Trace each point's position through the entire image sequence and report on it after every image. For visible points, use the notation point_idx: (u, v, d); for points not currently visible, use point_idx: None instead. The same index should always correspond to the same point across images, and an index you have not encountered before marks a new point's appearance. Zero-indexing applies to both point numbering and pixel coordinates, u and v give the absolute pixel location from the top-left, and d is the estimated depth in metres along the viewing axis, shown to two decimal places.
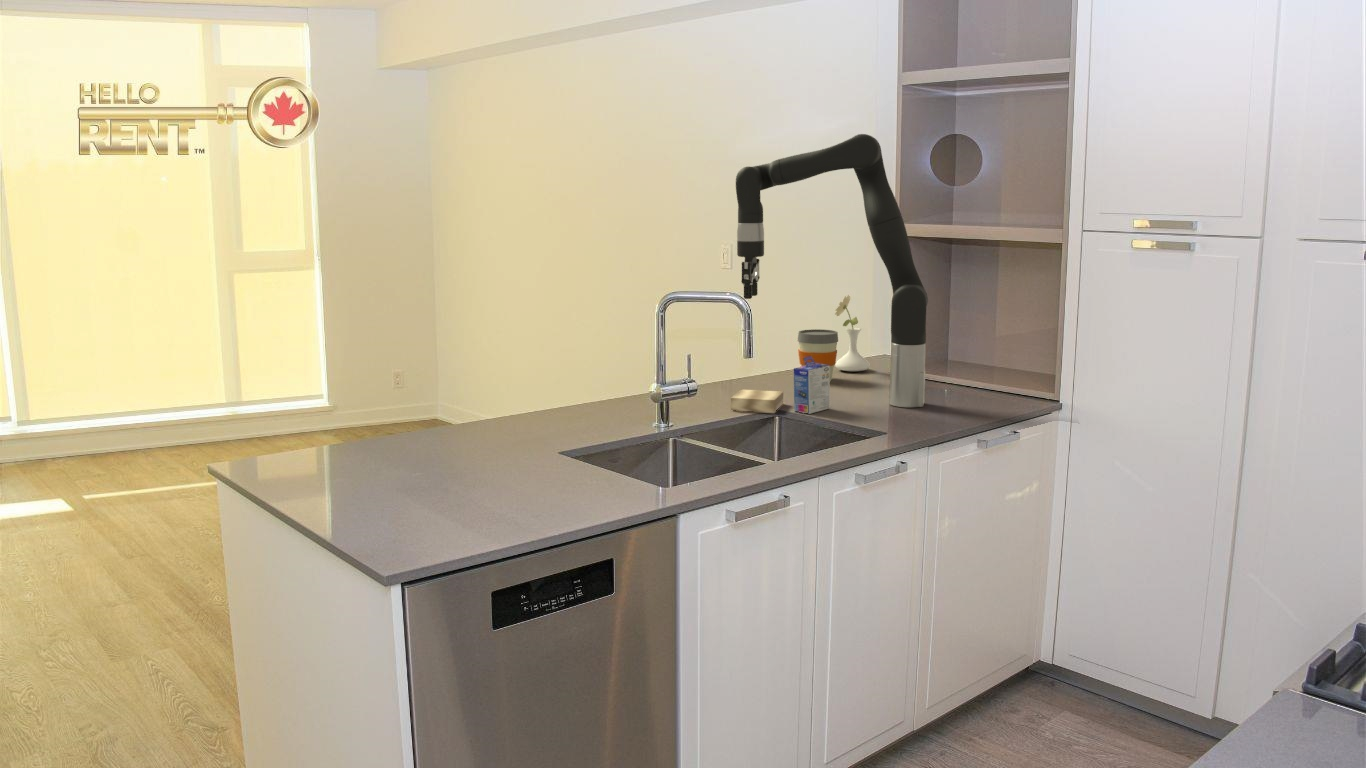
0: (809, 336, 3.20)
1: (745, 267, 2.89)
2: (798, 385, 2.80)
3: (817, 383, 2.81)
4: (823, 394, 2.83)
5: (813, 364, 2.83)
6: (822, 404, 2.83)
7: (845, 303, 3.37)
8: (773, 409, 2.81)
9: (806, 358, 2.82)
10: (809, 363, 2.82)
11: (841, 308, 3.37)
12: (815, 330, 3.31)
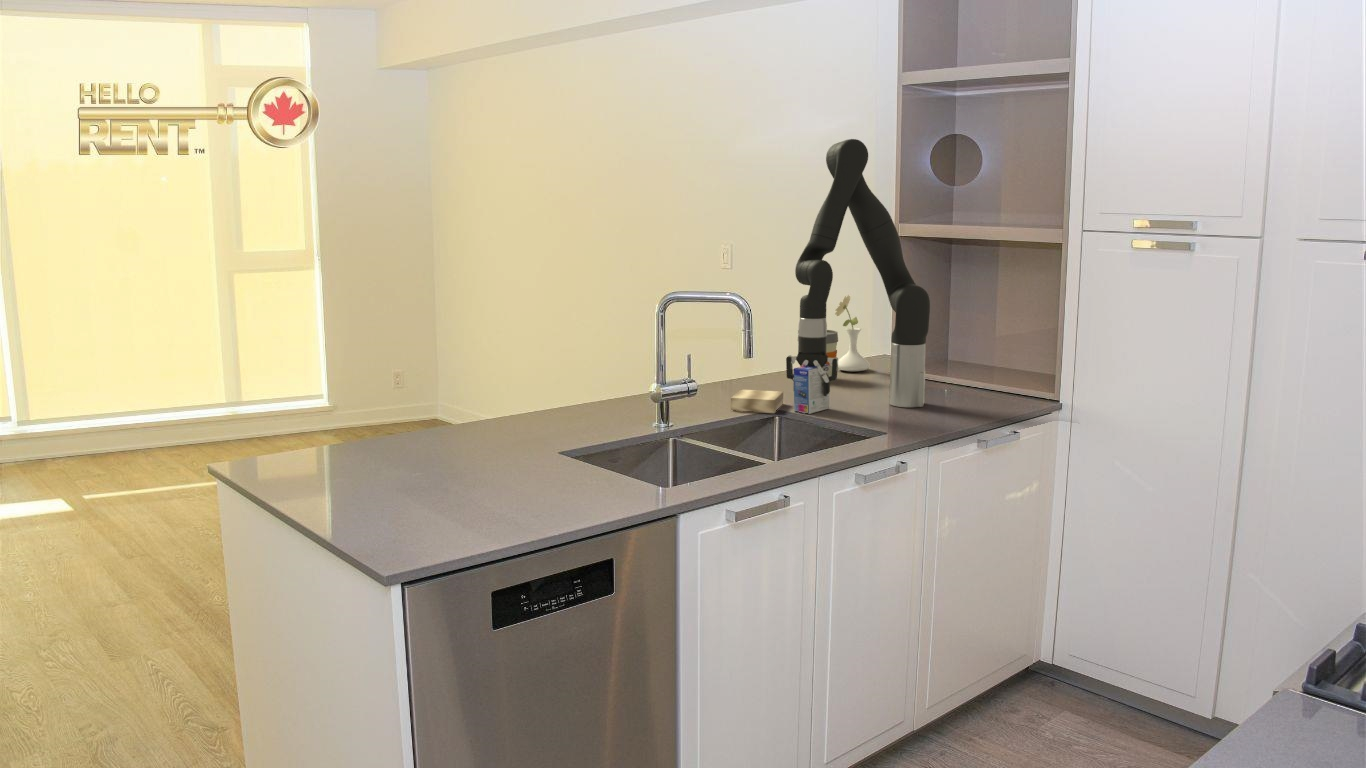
0: None
1: (837, 363, 2.80)
2: (798, 385, 2.80)
3: (817, 383, 2.81)
4: (823, 394, 2.83)
5: None
6: (822, 404, 2.83)
7: (845, 303, 3.37)
8: (773, 409, 2.81)
9: None
10: None
11: (841, 308, 3.37)
12: None
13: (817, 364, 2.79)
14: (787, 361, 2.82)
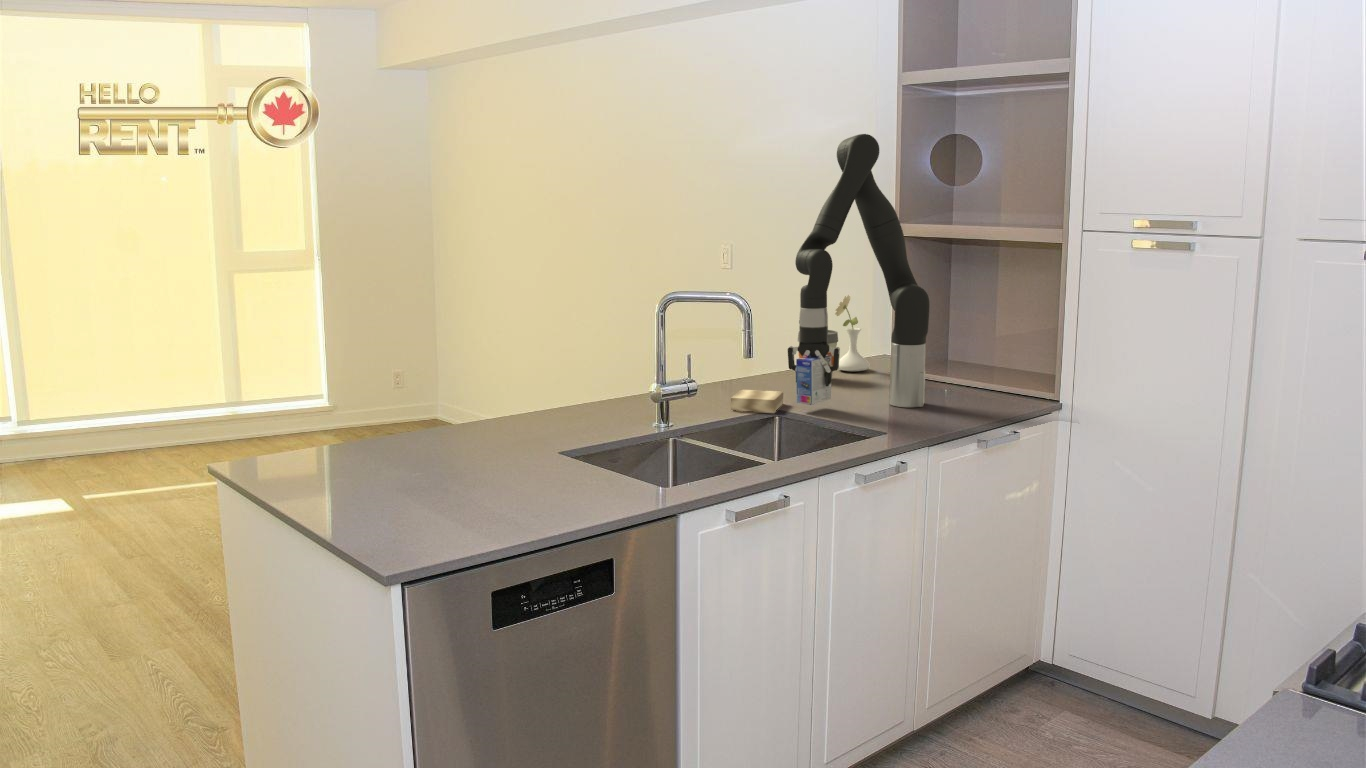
0: None
1: (838, 353, 2.79)
2: (801, 376, 2.79)
3: (820, 374, 2.80)
4: (825, 385, 2.82)
5: None
6: (824, 394, 2.82)
7: (845, 303, 3.37)
8: (773, 409, 2.81)
9: None
10: None
11: (841, 308, 3.37)
12: None
13: (819, 354, 2.79)
14: (789, 352, 2.81)
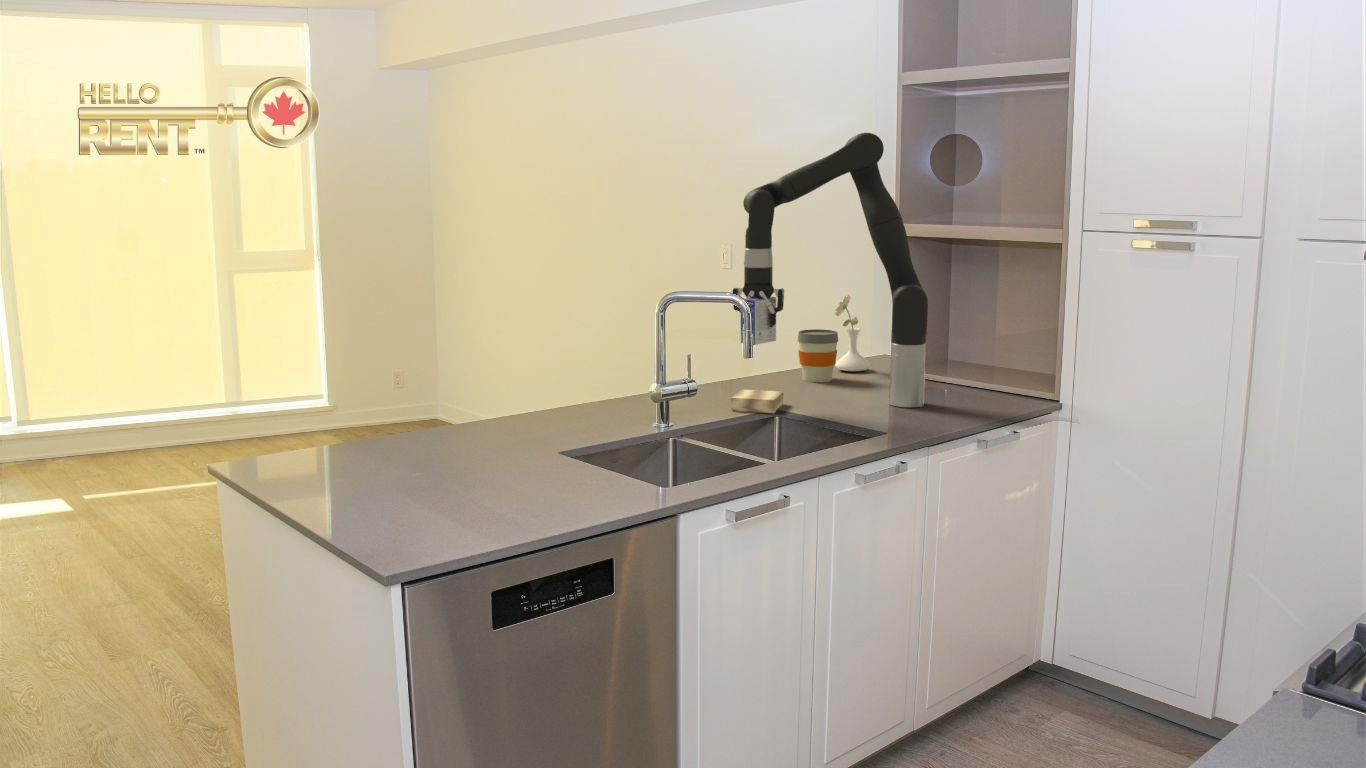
0: (809, 335, 3.20)
1: (783, 294, 2.81)
2: None
3: (764, 315, 2.81)
4: (769, 326, 2.84)
5: None
6: (768, 336, 2.84)
7: (845, 303, 3.37)
8: (773, 409, 2.81)
9: None
10: None
11: (841, 308, 3.37)
12: (815, 330, 3.31)
13: (763, 295, 2.80)
14: (733, 293, 2.83)
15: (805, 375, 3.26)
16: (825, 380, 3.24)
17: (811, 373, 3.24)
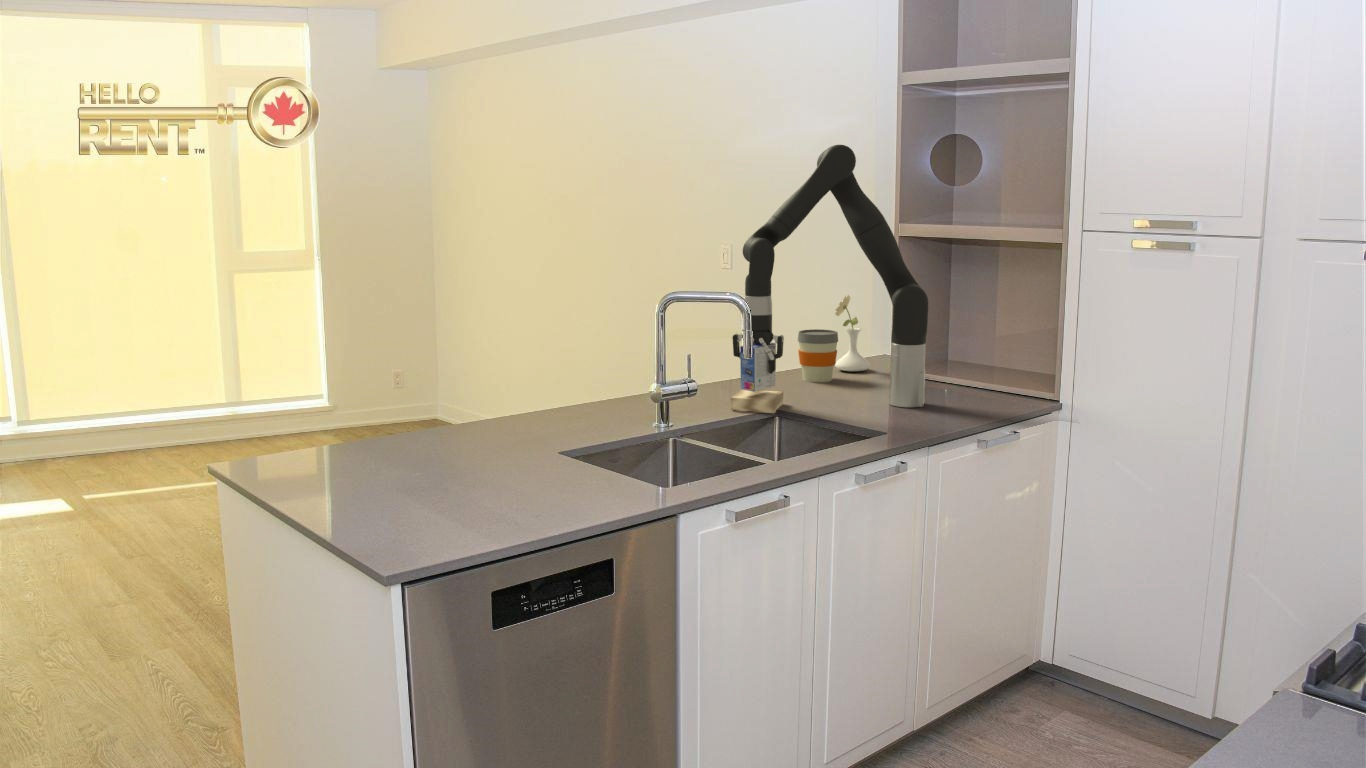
0: (809, 335, 3.20)
1: (782, 341, 2.83)
2: (744, 363, 2.83)
3: (764, 361, 2.84)
4: None
5: None
6: (768, 381, 2.86)
7: (845, 303, 3.37)
8: (773, 409, 2.81)
9: None
10: None
11: (841, 308, 3.37)
12: (815, 330, 3.31)
13: (762, 342, 2.83)
14: (733, 339, 2.86)
15: (805, 375, 3.26)
16: (825, 380, 3.24)
17: (811, 373, 3.24)
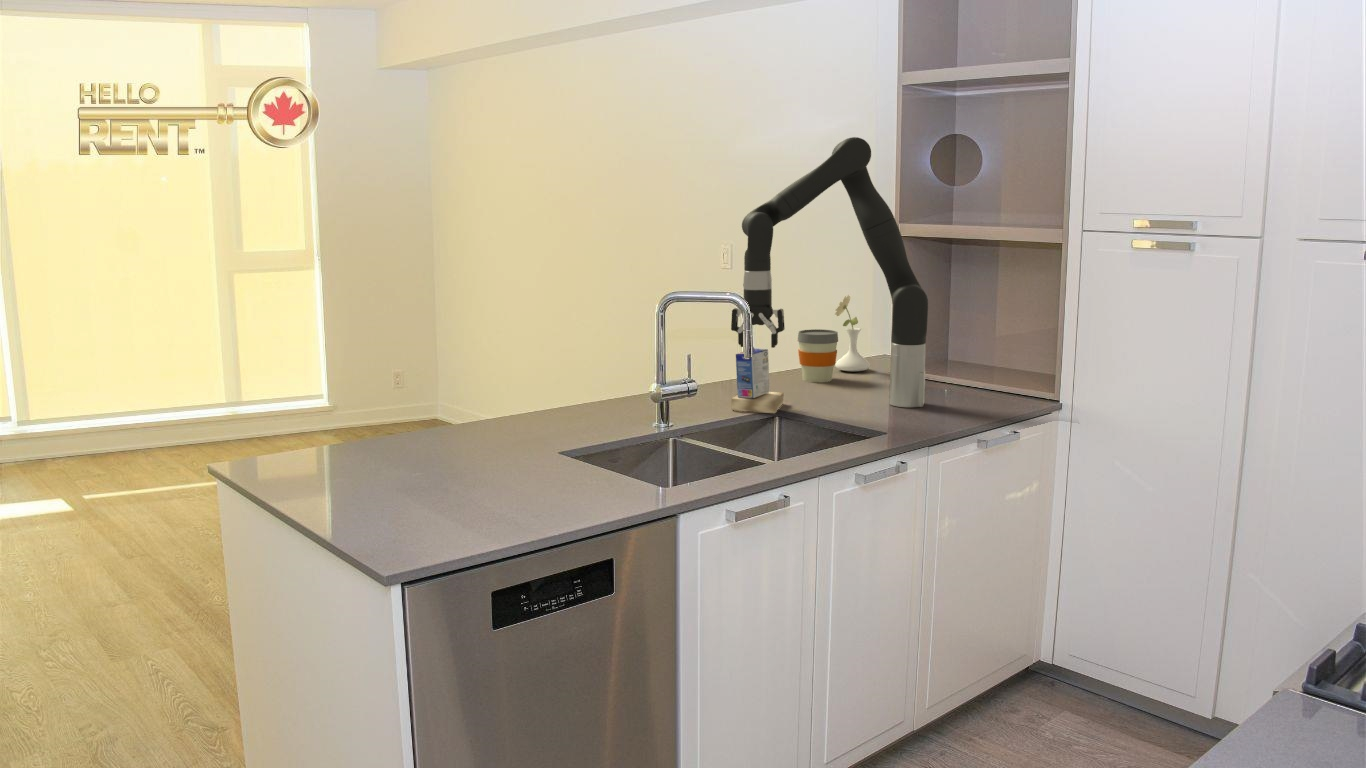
0: (809, 336, 3.20)
1: (782, 314, 2.81)
2: (741, 370, 2.83)
3: (759, 368, 2.85)
4: (764, 378, 2.87)
5: (753, 349, 2.87)
6: (763, 388, 2.87)
7: (845, 303, 3.37)
8: (774, 410, 2.81)
9: None
10: None
11: (841, 308, 3.37)
12: (815, 330, 3.31)
13: (762, 316, 2.81)
14: (733, 313, 2.84)
15: (805, 375, 3.26)
16: (825, 380, 3.24)
17: (811, 373, 3.24)
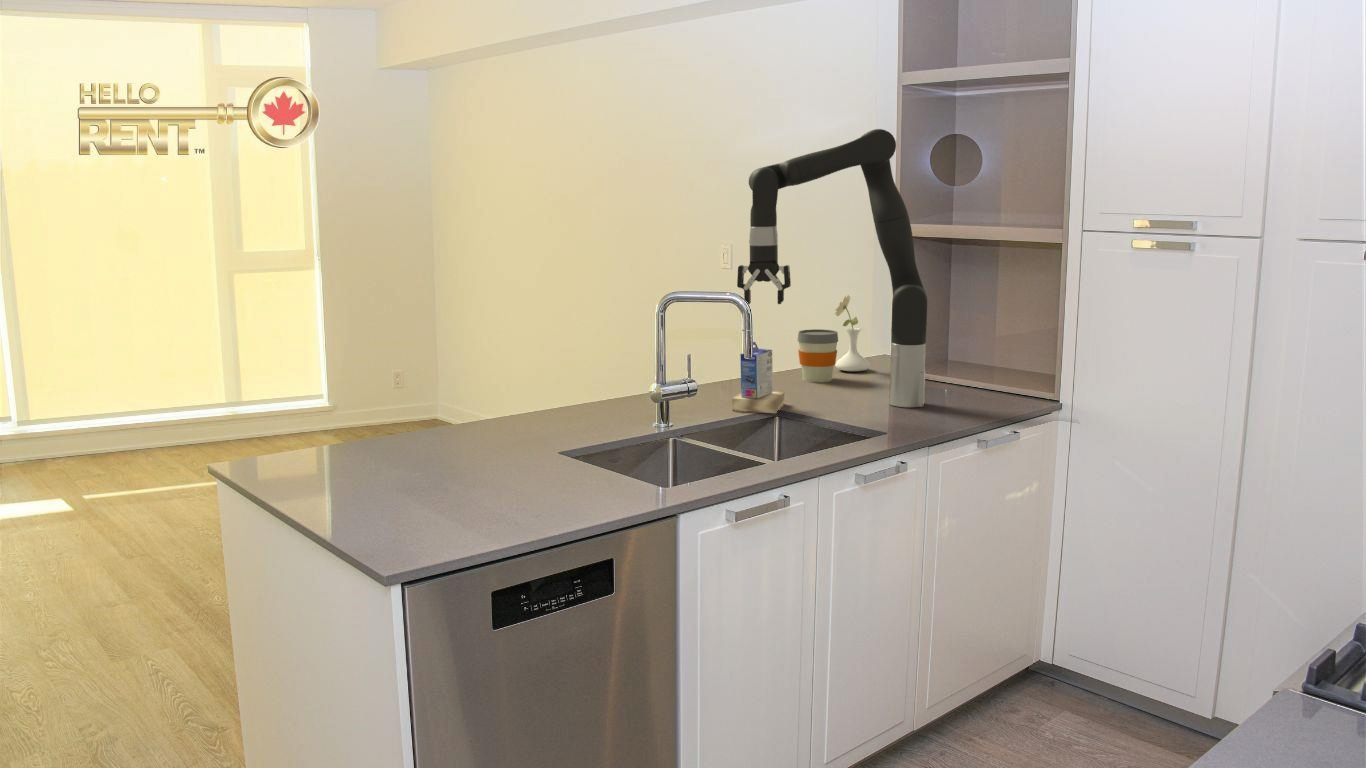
0: (809, 336, 3.20)
1: (788, 271, 2.81)
2: (745, 370, 2.83)
3: (763, 368, 2.85)
4: (768, 379, 2.87)
5: (757, 349, 2.86)
6: (767, 388, 2.87)
7: (845, 303, 3.37)
8: (775, 410, 2.81)
9: None
10: (754, 348, 2.85)
11: (841, 308, 3.37)
12: (815, 330, 3.31)
13: (769, 273, 2.81)
14: (739, 270, 2.84)
15: (805, 375, 3.26)
16: (825, 380, 3.24)
17: (811, 373, 3.24)
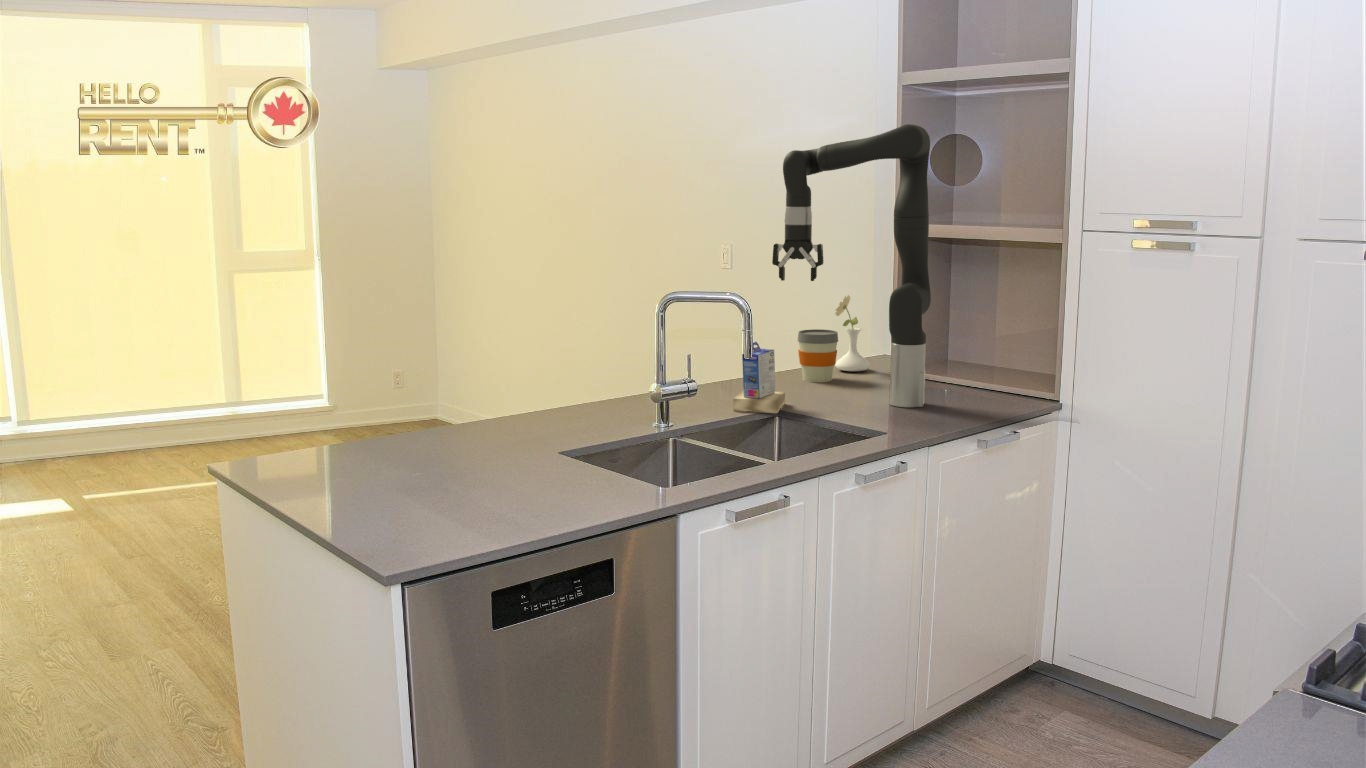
0: (809, 336, 3.20)
1: (822, 249, 2.95)
2: (747, 370, 2.83)
3: (765, 368, 2.84)
4: (770, 379, 2.87)
5: (759, 349, 2.86)
6: (769, 388, 2.87)
7: (845, 303, 3.37)
8: (776, 409, 2.81)
9: (753, 343, 2.85)
10: (756, 348, 2.85)
11: (841, 308, 3.37)
12: (815, 330, 3.31)
13: (803, 251, 2.95)
14: (774, 248, 2.98)
15: (805, 375, 3.26)
16: (825, 380, 3.24)
17: (811, 373, 3.24)
